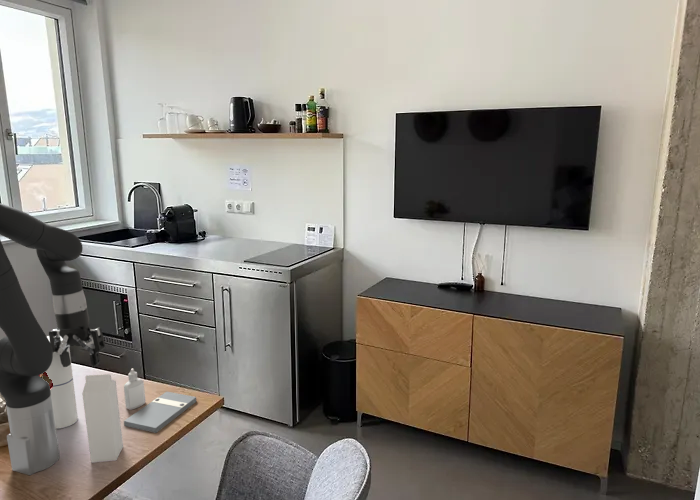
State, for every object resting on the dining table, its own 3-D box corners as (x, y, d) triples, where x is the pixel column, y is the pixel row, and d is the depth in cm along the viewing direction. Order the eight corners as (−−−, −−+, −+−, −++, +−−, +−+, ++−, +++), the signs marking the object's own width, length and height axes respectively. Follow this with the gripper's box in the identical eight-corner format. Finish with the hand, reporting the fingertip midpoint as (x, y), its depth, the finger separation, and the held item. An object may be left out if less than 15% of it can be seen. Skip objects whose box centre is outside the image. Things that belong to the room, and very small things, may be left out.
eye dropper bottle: (146, 406, 149) (142, 369, 146) (126, 411, 146) (122, 373, 144) (145, 400, 153) (141, 364, 150) (125, 404, 150) (121, 368, 148)
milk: (99, 449, 128) (89, 370, 124) (123, 446, 129) (114, 368, 125) (90, 463, 122) (80, 381, 118) (116, 461, 123) (106, 379, 119)
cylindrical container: (55, 431, 136) (44, 345, 131) (44, 423, 140) (33, 339, 136) (82, 420, 141) (72, 337, 137) (71, 413, 146) (61, 332, 141)
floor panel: (156, 432, 135) (155, 427, 135) (124, 425, 139) (123, 420, 138) (196, 401, 152) (196, 396, 151) (167, 395, 155) (166, 390, 155)
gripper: (35, 313, 127) (47, 372, 130) (85, 312, 125) (96, 372, 128) (56, 304, 134) (67, 360, 137) (104, 303, 132) (114, 360, 135)
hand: (81, 365), depth 133 cm, fingers open, 8 cm apart
